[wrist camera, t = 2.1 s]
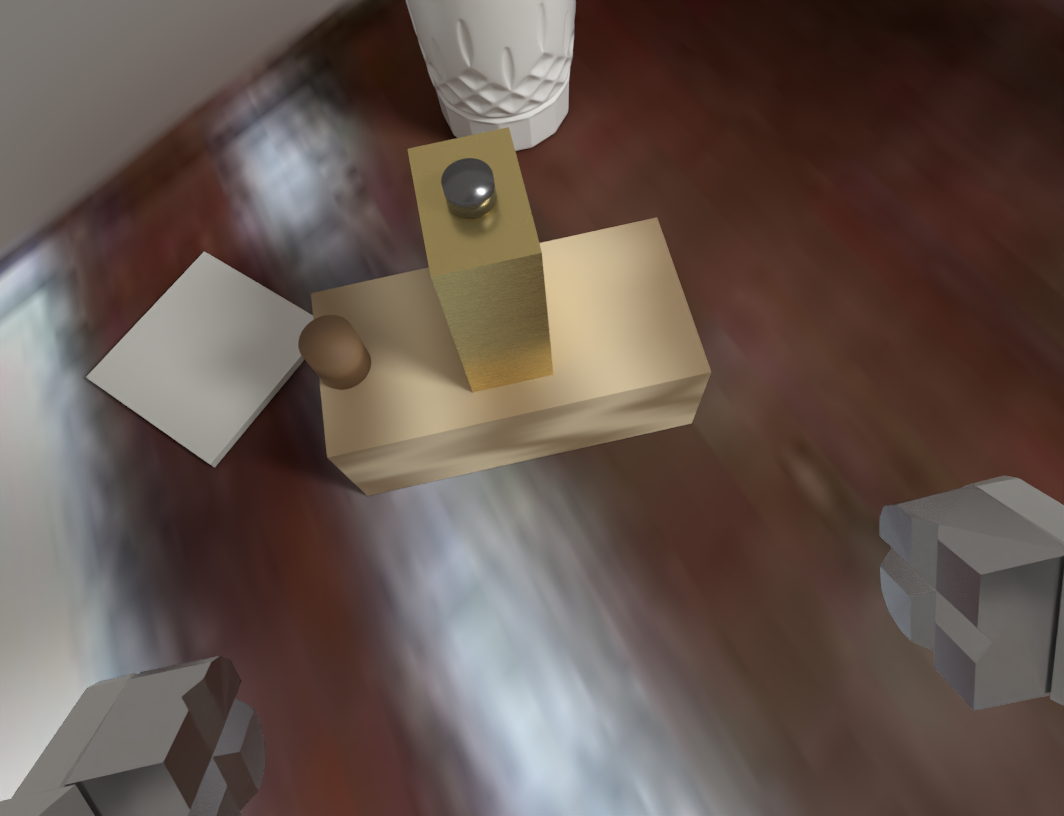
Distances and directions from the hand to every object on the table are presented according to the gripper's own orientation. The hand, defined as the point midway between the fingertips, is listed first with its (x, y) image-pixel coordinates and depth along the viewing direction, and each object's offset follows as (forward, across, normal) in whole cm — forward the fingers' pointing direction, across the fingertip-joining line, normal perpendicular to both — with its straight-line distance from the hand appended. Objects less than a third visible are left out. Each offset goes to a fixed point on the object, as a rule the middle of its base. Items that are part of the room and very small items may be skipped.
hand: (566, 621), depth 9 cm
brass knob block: (+18, 0, +1) cm, 19 cm away
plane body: (+22, 0, +5) cm, 22 cm away
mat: (+26, +13, +1) cm, 29 cm away
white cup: (+34, -3, -7) cm, 34 cm away
